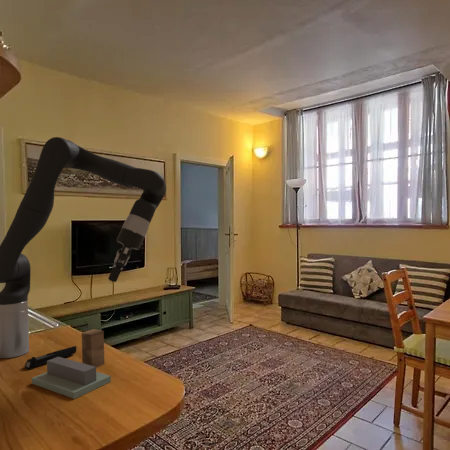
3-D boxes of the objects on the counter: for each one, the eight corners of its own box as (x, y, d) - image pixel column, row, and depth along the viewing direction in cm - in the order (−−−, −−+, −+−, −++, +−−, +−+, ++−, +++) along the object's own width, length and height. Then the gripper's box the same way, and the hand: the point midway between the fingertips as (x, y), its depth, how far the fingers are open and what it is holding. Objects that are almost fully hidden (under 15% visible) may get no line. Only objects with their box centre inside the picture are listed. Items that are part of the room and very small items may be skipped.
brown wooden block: (82, 366, 108) (81, 332, 108) (94, 361, 112) (93, 329, 112) (92, 369, 105) (91, 334, 105) (104, 364, 109) (103, 330, 109)
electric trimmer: (79, 356, 118) (79, 346, 118) (29, 371, 106) (28, 360, 106) (73, 354, 120) (73, 344, 120) (23, 368, 108) (23, 357, 108)
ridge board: (31, 383, 97) (31, 364, 97) (68, 369, 106) (68, 351, 106) (74, 398, 87) (73, 378, 87) (110, 381, 96) (110, 362, 96)
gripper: (120, 229, 119) (99, 276, 115) (123, 224, 106) (99, 276, 102) (142, 238, 121) (122, 284, 117) (147, 234, 107) (125, 286, 104)
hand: (111, 280), depth 109 cm, fingers open, 8 cm apart
